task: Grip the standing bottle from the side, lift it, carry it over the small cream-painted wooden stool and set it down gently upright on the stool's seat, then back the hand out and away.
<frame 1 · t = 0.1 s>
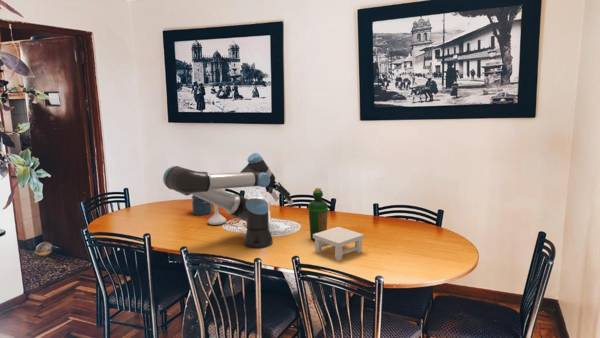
hand: (284, 201, 252), 15 cm above the table, tool tilted 35°, fingers open, 13 cm apart
stool: (338, 251, 212), on the table
bottle: (318, 239, 231), on the table
canister: (202, 213, 288), on the table
flower in vase: (218, 223, 264), on the table
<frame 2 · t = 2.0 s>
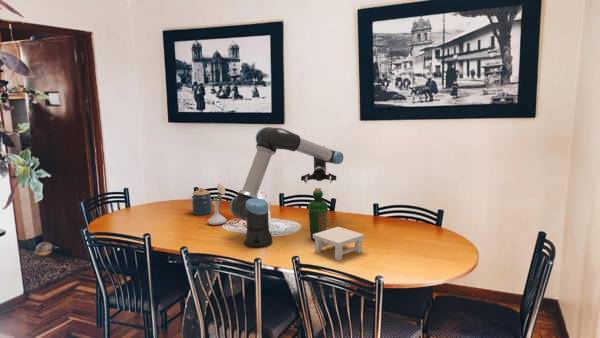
hand: (318, 181, 236), 30 cm above the table, tool horizontal, fingers open, 13 cm apart
nothing on the table moved.
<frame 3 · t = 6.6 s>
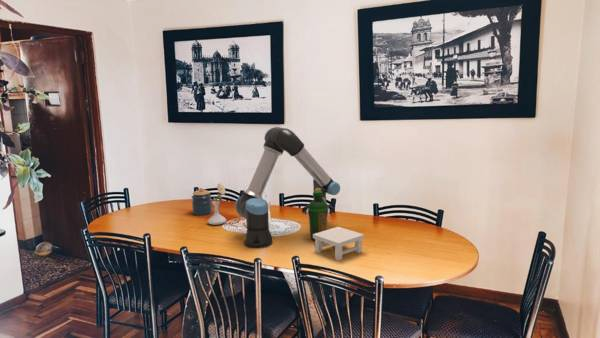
hand: (317, 214, 225), 15 cm above the table, tool horizontal, fingers closed on bottle, 11 cm apart
bottle: (318, 239, 231), on the table, touching gripper
everything else where it was.
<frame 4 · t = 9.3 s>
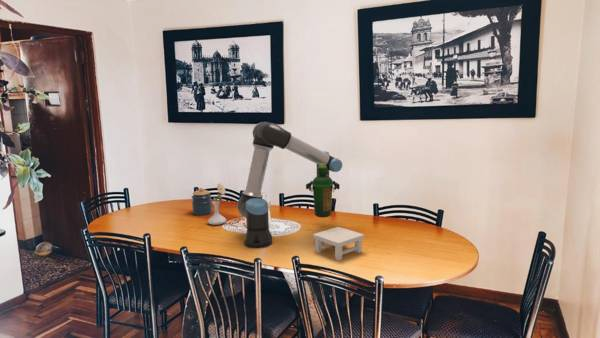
hand: (322, 189, 220), 29 cm above the table, tool horizontal, fingers closed on bottle, 11 cm apart
bottle: (322, 215, 226), point 14 cm above the table, touching gripper
everything else where it was.
when the fingers open (26 cm above the table, at t = 12.2 s): bottle drops 2 cm, resting on stool.
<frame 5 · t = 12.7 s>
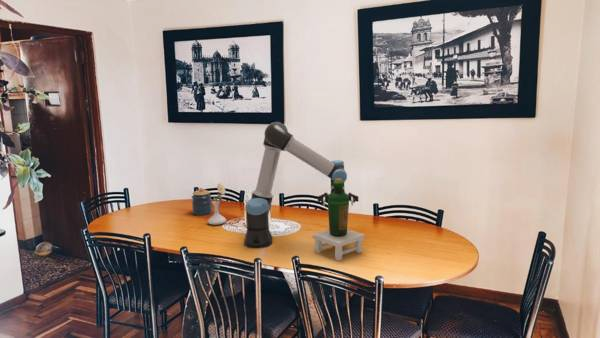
hand: (338, 202, 204), 26 cm above the table, tool horizontal, fingers open, 13 cm apart
bottle: (338, 234, 210), point 9 cm above the table, touching stool
everything else where it was.
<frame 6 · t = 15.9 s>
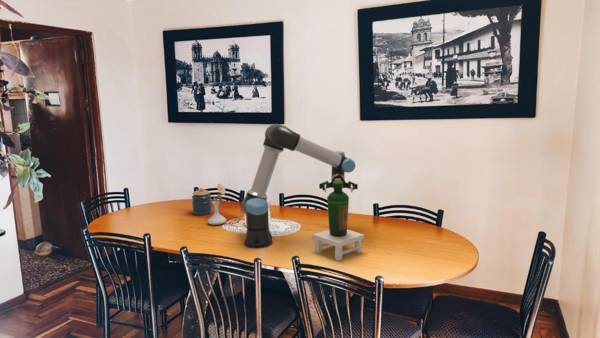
hand: (338, 189, 216), 30 cm above the table, tool horizontal, fingers open, 13 cm apart
nothing on the table moved.
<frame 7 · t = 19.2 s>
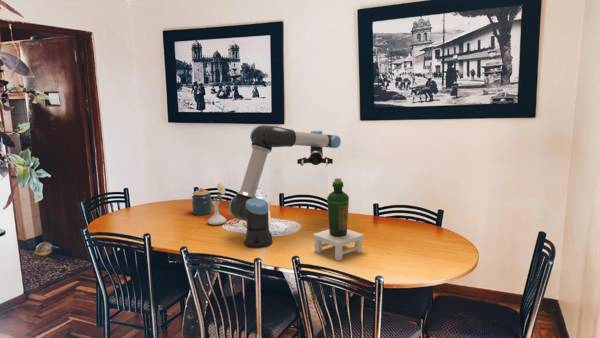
hand: (314, 163, 235), 40 cm above the table, tool horizontal, fingers open, 13 cm apart
nothing on the table moved.
at the end: bottle inside the target area on the stool (0.1 cm from its centre), point 8.8 cm above the stool's base; bottle tilted 0°; bottle touching stool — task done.
